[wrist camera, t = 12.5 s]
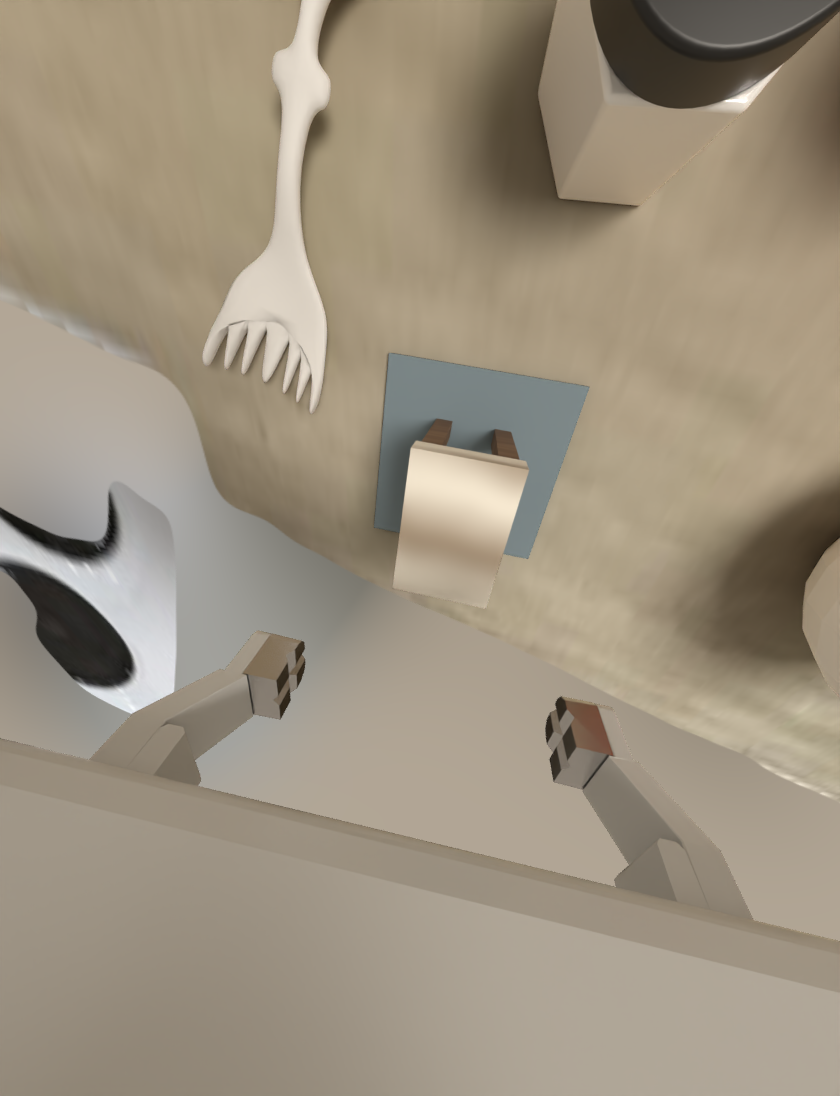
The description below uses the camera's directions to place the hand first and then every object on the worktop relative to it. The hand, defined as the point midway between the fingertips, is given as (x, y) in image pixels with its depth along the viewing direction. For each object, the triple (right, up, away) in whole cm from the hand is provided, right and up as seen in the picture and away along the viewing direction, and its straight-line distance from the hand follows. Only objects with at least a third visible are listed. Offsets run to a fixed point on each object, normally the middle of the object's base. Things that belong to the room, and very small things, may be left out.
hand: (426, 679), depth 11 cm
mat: (+4, +11, +17) cm, 21 cm away
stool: (+3, +10, +17) cm, 20 cm away
